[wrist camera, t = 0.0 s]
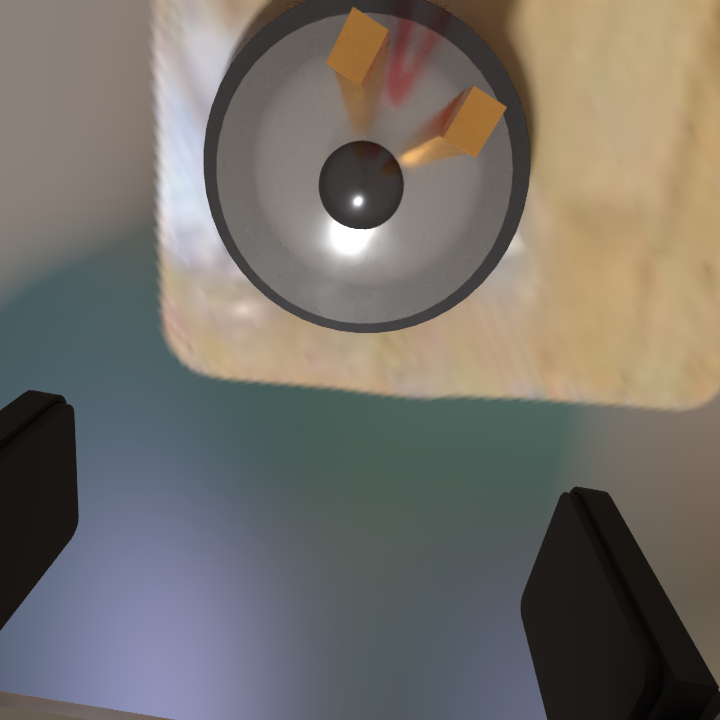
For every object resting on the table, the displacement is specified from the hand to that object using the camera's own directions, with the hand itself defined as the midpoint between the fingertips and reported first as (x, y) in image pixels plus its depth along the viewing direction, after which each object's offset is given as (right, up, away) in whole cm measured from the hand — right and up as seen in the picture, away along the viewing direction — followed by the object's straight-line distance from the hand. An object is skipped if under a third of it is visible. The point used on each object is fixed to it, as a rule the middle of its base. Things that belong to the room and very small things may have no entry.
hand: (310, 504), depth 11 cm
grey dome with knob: (+1, +14, +25) cm, 29 cm away
